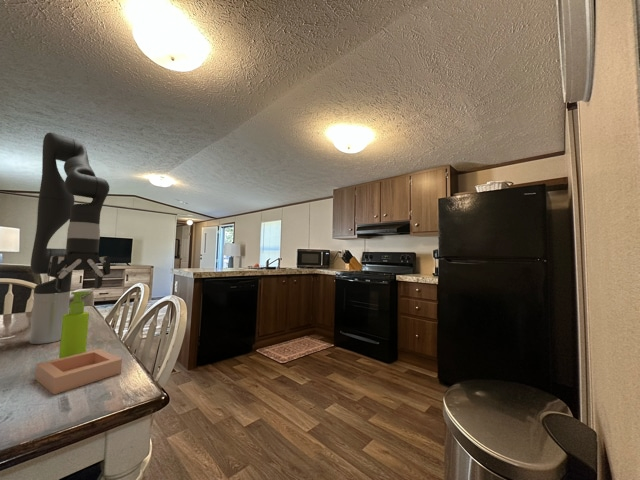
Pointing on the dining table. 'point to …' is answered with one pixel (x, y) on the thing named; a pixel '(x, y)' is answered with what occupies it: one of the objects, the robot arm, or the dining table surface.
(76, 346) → the green pump bottle
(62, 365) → the tray
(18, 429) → the dining table surface
